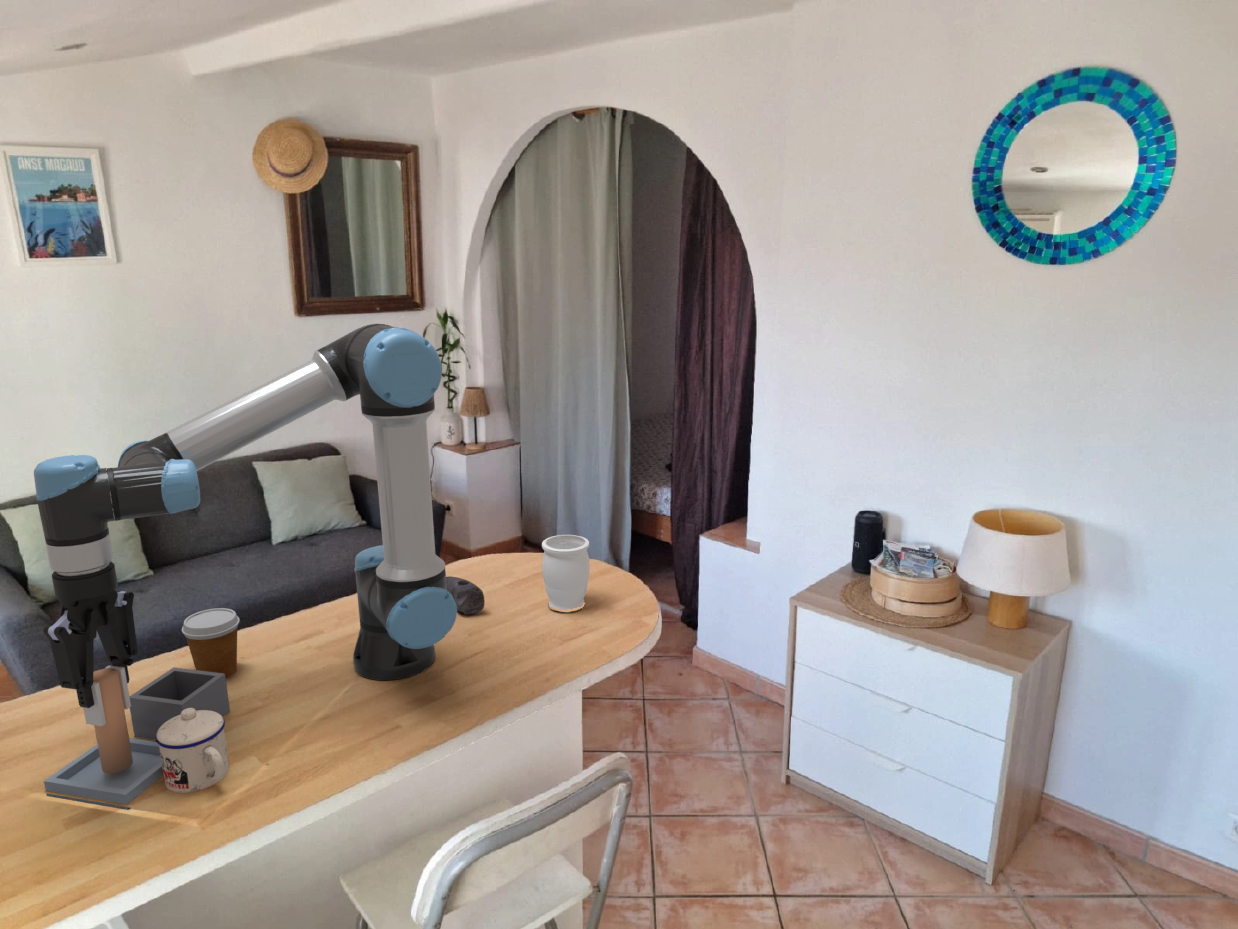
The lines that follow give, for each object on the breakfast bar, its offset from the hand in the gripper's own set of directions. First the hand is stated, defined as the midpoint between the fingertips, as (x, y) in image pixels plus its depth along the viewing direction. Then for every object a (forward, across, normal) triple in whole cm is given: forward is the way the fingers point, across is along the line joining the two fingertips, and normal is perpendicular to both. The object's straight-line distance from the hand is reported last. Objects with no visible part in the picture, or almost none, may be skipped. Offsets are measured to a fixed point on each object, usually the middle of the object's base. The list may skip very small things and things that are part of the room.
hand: (109, 714), depth 122 cm
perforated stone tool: (+11, -68, +25) cm, 74 cm away
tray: (+11, 0, 0) cm, 11 cm away
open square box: (+11, -14, 0) cm, 17 cm away
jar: (+11, -74, +48) cm, 89 cm away
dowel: (+9, 0, 0) cm, 9 cm away
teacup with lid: (+11, -2, +13) cm, 17 cm away
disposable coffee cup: (+11, -30, -6) cm, 32 cm away
